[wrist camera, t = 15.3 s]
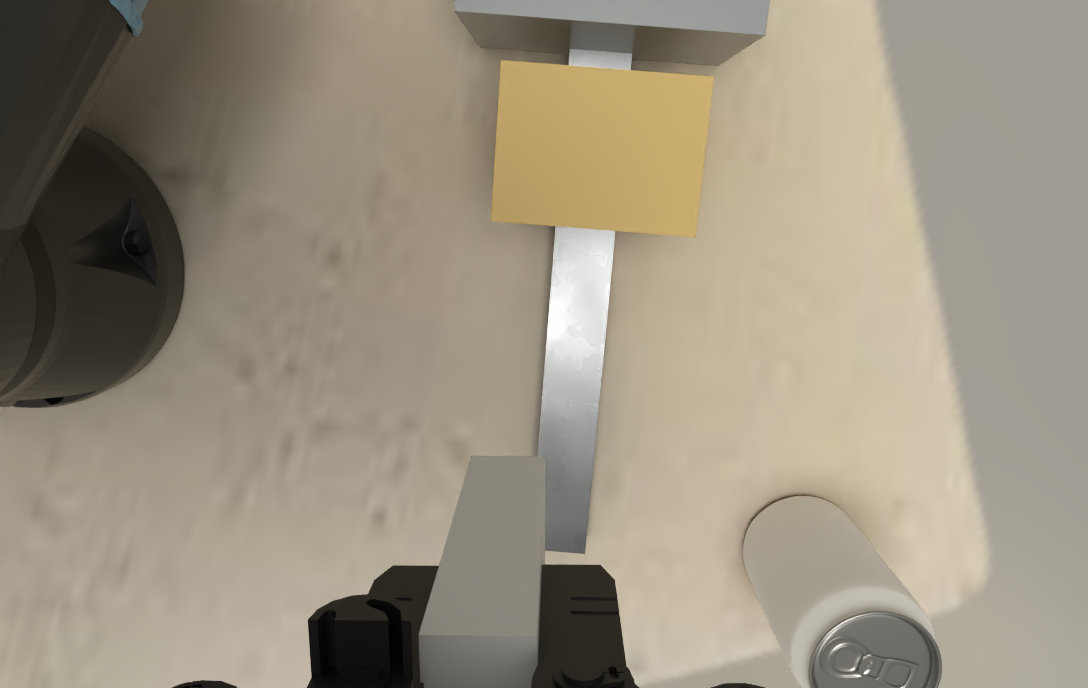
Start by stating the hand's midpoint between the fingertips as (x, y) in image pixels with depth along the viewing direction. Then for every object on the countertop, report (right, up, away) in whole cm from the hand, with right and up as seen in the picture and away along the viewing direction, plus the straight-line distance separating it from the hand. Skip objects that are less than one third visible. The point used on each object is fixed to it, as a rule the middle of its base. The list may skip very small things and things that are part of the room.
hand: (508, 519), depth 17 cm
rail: (+3, +5, +28) cm, 28 cm away
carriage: (+3, +13, +26) cm, 29 cm away
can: (+15, -8, +30) cm, 35 cm away
